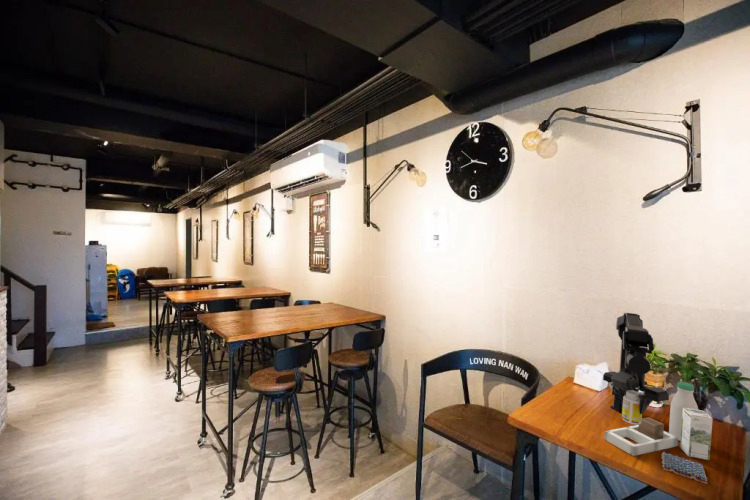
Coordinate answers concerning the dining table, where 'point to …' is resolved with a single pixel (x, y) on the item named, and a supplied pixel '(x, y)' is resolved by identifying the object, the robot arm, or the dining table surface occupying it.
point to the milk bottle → (680, 407)
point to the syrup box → (696, 433)
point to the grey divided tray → (639, 440)
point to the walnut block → (651, 428)
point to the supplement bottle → (631, 408)
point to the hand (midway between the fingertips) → (632, 409)
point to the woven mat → (683, 467)
